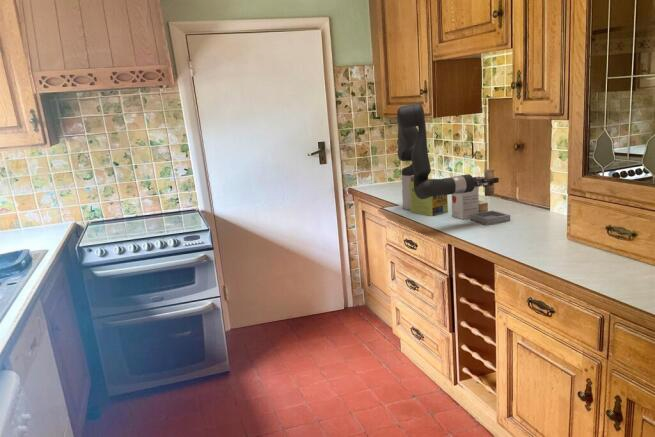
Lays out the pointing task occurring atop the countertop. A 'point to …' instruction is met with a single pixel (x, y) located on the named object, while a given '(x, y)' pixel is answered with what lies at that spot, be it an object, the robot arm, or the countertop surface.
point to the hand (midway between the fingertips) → (494, 179)
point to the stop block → (483, 206)
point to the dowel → (490, 189)
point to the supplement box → (465, 204)
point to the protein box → (427, 203)
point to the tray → (489, 217)
